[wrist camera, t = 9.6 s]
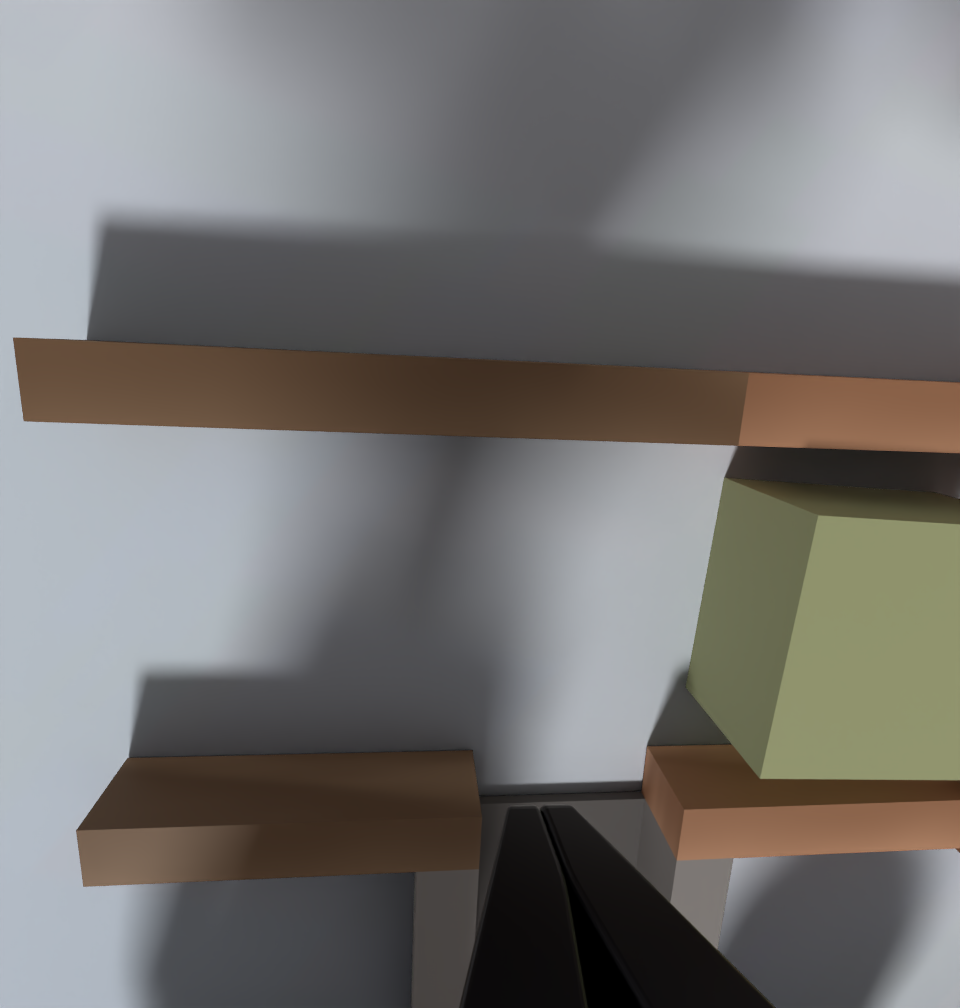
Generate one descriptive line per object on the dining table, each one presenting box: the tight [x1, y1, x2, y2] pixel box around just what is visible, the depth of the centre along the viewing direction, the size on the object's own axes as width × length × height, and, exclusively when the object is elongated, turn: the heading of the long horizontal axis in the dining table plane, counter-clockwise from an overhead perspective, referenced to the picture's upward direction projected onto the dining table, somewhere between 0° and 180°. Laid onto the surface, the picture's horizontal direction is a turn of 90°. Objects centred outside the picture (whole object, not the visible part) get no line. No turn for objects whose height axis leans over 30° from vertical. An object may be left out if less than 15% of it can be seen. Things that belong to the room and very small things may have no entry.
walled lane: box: [13, 338, 960, 887], centre depth 15 cm, size 12×24×2 cm, turn 87°
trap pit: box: [411, 792, 733, 1008], centre depth 17 cm, size 8×8×2 cm
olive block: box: [686, 478, 960, 780], centre depth 15 cm, size 6×6×4 cm
